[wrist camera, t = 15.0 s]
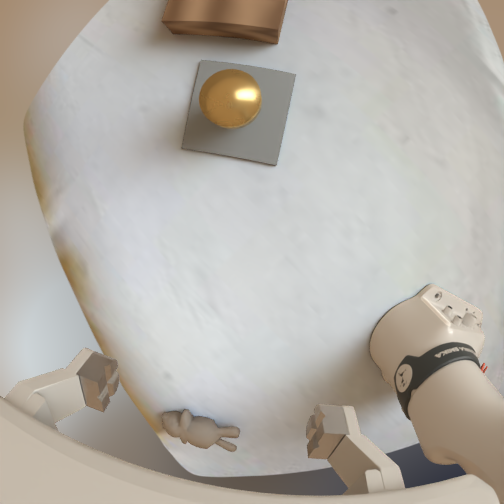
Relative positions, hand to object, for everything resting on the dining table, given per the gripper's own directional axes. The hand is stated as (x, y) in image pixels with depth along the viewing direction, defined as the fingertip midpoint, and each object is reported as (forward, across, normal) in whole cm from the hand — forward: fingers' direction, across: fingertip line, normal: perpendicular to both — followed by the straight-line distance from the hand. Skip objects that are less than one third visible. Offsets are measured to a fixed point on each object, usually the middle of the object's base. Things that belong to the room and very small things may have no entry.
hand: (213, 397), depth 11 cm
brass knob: (+29, +5, -14) cm, 32 cm away
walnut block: (+29, +9, -31) cm, 43 cm away
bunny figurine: (+29, +2, +40) cm, 50 cm away
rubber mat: (+29, +5, -14) cm, 33 cm away
